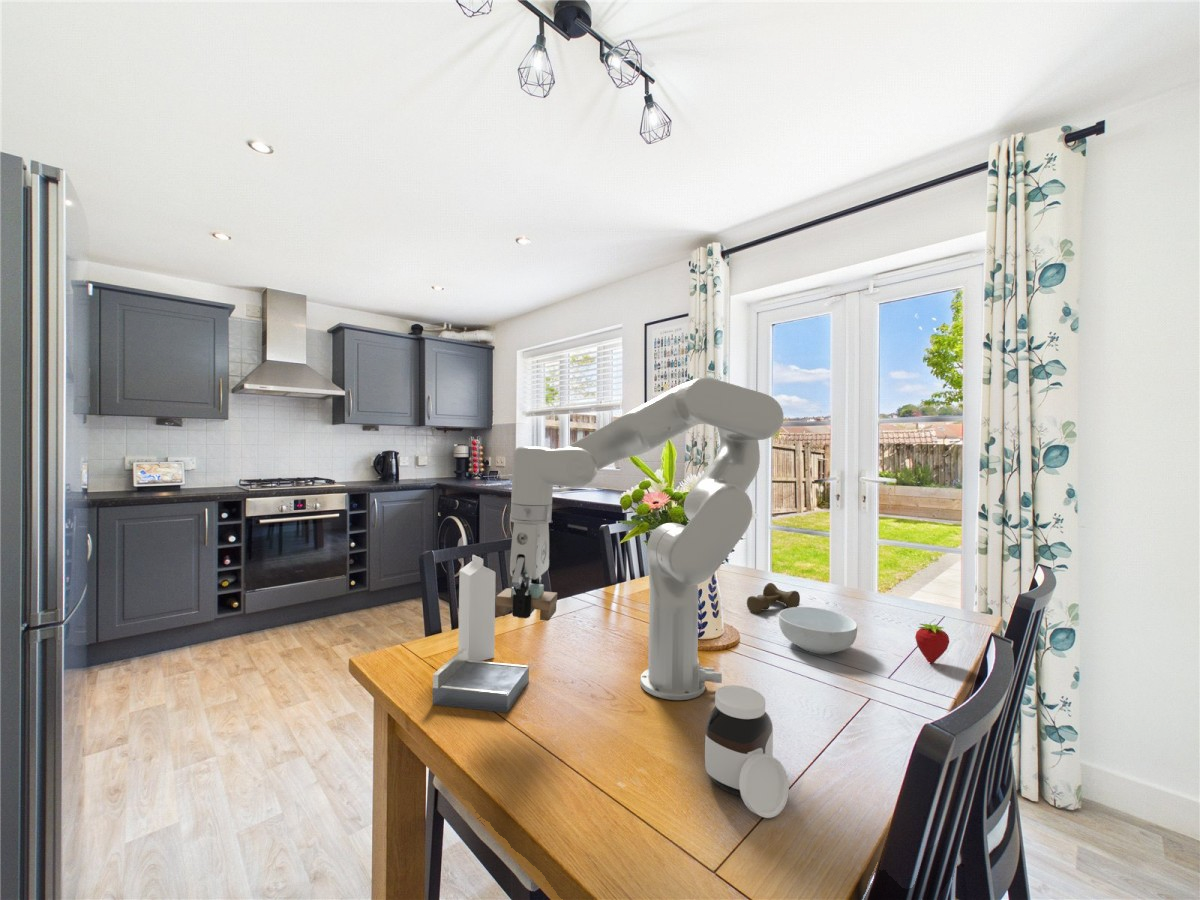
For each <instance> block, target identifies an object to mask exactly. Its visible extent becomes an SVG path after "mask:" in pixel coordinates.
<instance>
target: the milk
mask: <svg viewBox="0 0 1200 900" xmlns="http://www.w3.org/2000/svg"><path fill="white" fill-rule="evenodd" d="M496 574H497V573H496V571H495V570H492V569H491V568H488V567H486V566H484V558H481V557H480V556H477V555H475V554H472V556H471V561H470V562H468V563H467V564H466V565H465V566H463V567H462V568H460V569H459V577H458V578H459V580H458V581H459V583H458V584H459V585H458V586H459V587H458V594H459V595H458V645H457V647H458V649H457V651H458V652H459V651H460V650H461V649H462V648H467V660H472V661H482V662H484V661H486V660H490V659H494V658H495V639H496V638H495V637H496V636H495V635H496V632H495V631H496V630H495V629H496V623H495V622H496ZM458 652H457V653H458Z"/></svg>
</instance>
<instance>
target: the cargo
mask: <svg viewBox="0 0 1200 900" xmlns="http://www.w3.org/2000/svg"><path fill="white" fill-rule="evenodd" d="M524 583H525V586H526V582H524ZM510 588H511V596H513V588H514V587H513V586H512V587H510ZM544 588H545V585H544V584H542V583H541V584H531V587H530V594H529V595H531V598H536V599H538V598H539V597H540V596H541V595H542V594H543V593H544V592H545V590H544Z"/></svg>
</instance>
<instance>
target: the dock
mask: <svg viewBox="0 0 1200 900" xmlns="http://www.w3.org/2000/svg"><path fill="white" fill-rule="evenodd" d="M529 681H530V665H524V664H523V665H522V664H513V663H502V662H491V661H472V660H467V648H462V649H461V650H460V651H459V652H456V654H455V655H453V656H452V657H451V658H450V659H448V661H446V663H444V664H443V665H442V666H440V668H438V669H437V671H435V672H434V673H433V674H432V705H433V706H441V707H442V706H443V707H450V708H451V707H452V708H458V709H460V708H461V709H469V710H479V711H487V712H496V713H497V712H498V713H504V714H505V713H507V714H508V712H509V711H510V710H511V708H512V706H513V705H514V704H515V702H516V701H517V699H518V698H519V696H520V695H521V693H522V692H523V691H524V690H525V687H526V686H527V685H528V683H529Z"/></svg>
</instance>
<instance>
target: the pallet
mask: <svg viewBox="0 0 1200 900" xmlns="http://www.w3.org/2000/svg"><path fill="white" fill-rule="evenodd" d="M511 588H512V587H510V588H507V587H506V588H505V589H503V590H502V591H501V592H500V593H498V594H497V595H495V617H496V616H497V617H506V616H507V615H508V614H509V613H510V612H511V611H513V596H511ZM557 603H558V592H555V591H554V592H553V591H544V593H543V594H542V595H541V596H540V597H539V598H538V599H536V598H531V614H532V613H533V612H534V611H535V610H539V611H540V612H539V620H540V621H545V622H546V621H547V622H548V621H550V620H551V618H552V617H553V616H554V615H555V613H556V612H557ZM517 618H518V619H524V618H523V617H517Z"/></svg>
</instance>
